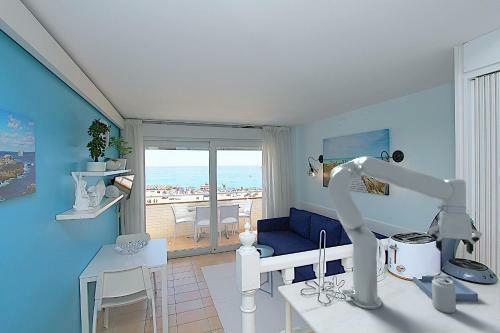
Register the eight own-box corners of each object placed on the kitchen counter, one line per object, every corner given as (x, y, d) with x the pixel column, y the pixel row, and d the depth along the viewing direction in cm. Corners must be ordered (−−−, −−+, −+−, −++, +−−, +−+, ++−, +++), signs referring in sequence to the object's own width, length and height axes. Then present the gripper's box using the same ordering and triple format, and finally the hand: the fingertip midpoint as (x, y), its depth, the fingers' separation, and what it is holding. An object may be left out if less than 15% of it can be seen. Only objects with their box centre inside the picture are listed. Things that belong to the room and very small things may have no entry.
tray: (431, 299, 104) (431, 292, 104) (411, 281, 120) (411, 275, 119) (477, 301, 102) (477, 294, 101) (451, 281, 117) (450, 275, 117)
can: (460, 315, 93) (460, 284, 93) (438, 313, 95) (438, 283, 94) (448, 303, 101) (448, 275, 100) (428, 302, 102) (427, 274, 102)
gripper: (430, 210, 97) (430, 252, 98) (486, 212, 90) (486, 257, 91) (425, 206, 104) (425, 245, 105) (476, 208, 97) (477, 250, 98)
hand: (454, 251), depth 98 cm, fingers open, 9 cm apart
